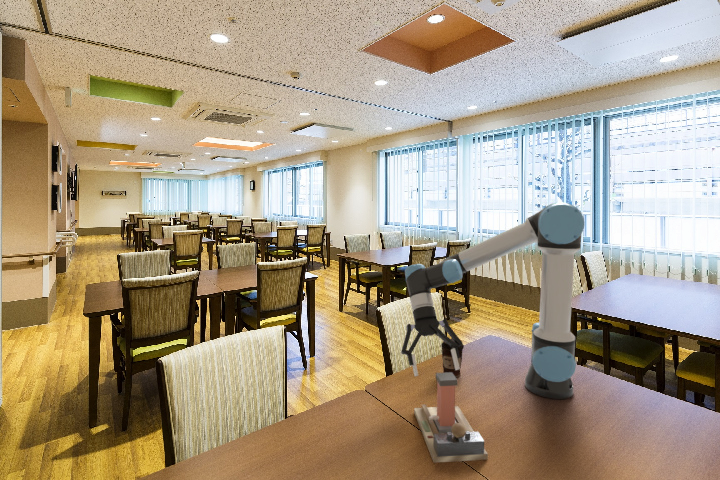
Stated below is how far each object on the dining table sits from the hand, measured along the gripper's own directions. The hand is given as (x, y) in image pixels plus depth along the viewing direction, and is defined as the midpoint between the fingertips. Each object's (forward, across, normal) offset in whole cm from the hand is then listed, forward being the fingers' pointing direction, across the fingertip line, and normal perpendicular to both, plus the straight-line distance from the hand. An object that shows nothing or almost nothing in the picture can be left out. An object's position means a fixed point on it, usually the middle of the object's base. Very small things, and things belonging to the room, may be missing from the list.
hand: (437, 372), depth 121 cm
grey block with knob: (+21, +3, +16) cm, 26 cm away
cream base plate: (+17, +3, +7) cm, 18 cm away
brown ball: (+18, +2, +18) cm, 25 cm away
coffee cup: (-1, -12, -25) cm, 27 cm away
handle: (+15, +3, +6) cm, 16 cm away
